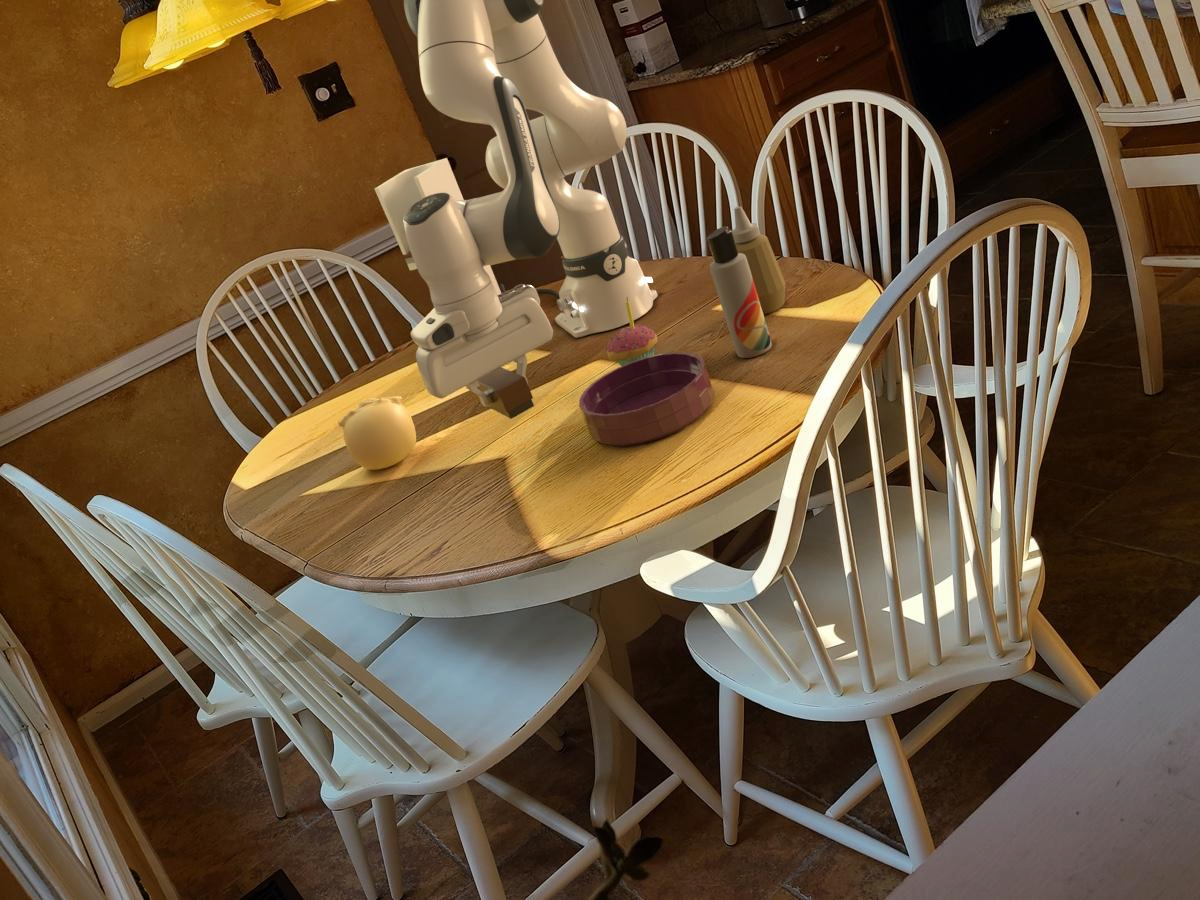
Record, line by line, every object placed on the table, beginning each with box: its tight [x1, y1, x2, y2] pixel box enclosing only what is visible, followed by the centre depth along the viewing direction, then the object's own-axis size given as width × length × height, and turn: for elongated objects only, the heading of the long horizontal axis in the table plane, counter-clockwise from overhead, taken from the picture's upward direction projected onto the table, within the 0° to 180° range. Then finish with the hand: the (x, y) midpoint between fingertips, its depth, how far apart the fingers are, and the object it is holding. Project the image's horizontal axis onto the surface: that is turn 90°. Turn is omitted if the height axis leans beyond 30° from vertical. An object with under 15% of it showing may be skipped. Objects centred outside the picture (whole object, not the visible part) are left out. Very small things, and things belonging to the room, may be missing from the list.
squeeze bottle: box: [731, 205, 786, 315], centre depth 183 cm, size 8×8×18 cm
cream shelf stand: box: [374, 157, 502, 295], centre depth 224 cm, size 11×11×35 cm
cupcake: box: [605, 297, 658, 367], centre depth 180 cm, size 9×8×12 cm
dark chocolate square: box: [476, 366, 535, 420], centre depth 162 cm, size 9×4×5 cm, turn 29°
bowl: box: [578, 351, 715, 447], centre depth 163 cm, size 19×19×6 cm
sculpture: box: [337, 395, 417, 471], centre depth 182 cm, size 11×12×11 cm
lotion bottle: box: [706, 225, 772, 359], centre depth 169 cm, size 6×6×20 cm
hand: (505, 395), depth 162 cm, fingers closed on dark chocolate square, 4 cm apart
